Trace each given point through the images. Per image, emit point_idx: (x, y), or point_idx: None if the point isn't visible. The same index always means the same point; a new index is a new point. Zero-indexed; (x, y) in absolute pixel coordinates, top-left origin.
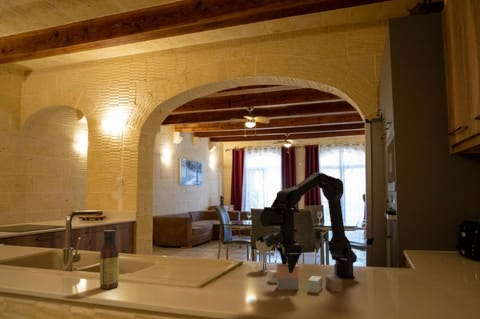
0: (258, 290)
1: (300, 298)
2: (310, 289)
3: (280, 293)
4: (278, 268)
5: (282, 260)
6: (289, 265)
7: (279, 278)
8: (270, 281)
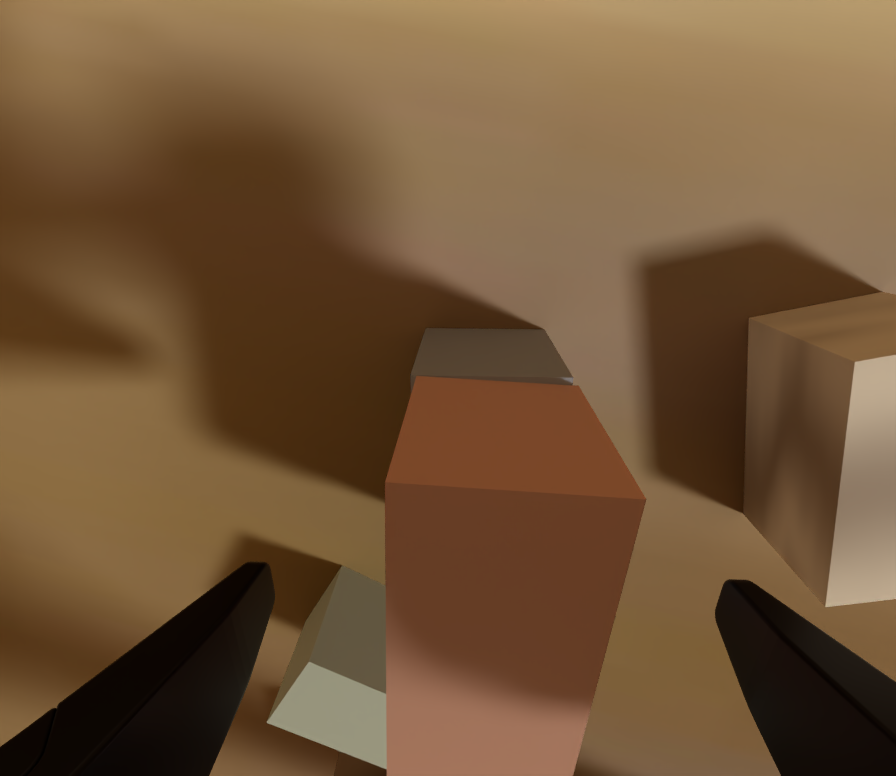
0: (407, 30)
1: (122, 456)
2: (324, 599)
3: (273, 311)
4: (418, 451)
5: (832, 697)
6: (107, 687)
7: (411, 383)
8: (817, 305)
